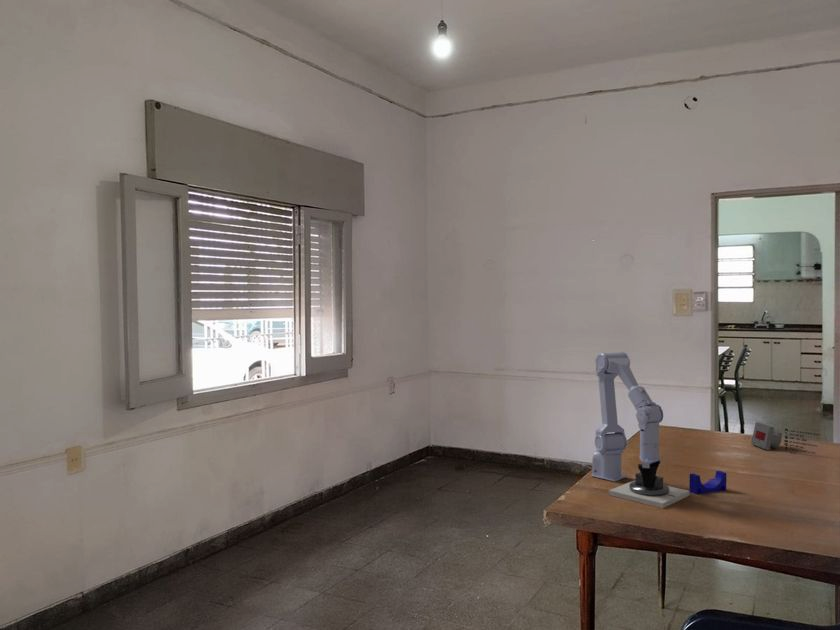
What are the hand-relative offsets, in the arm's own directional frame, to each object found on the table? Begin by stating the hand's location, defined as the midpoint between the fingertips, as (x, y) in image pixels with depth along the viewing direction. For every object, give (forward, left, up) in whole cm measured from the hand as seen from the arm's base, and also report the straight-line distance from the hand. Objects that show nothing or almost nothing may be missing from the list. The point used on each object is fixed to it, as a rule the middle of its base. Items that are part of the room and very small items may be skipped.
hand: (649, 485), depth 206 cm
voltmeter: (+9, +93, -4) cm, 94 cm away
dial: (0, 0, -1) cm, 1 cm away
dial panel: (0, 0, -3) cm, 3 cm away
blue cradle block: (+10, +18, -4) cm, 21 cm away
